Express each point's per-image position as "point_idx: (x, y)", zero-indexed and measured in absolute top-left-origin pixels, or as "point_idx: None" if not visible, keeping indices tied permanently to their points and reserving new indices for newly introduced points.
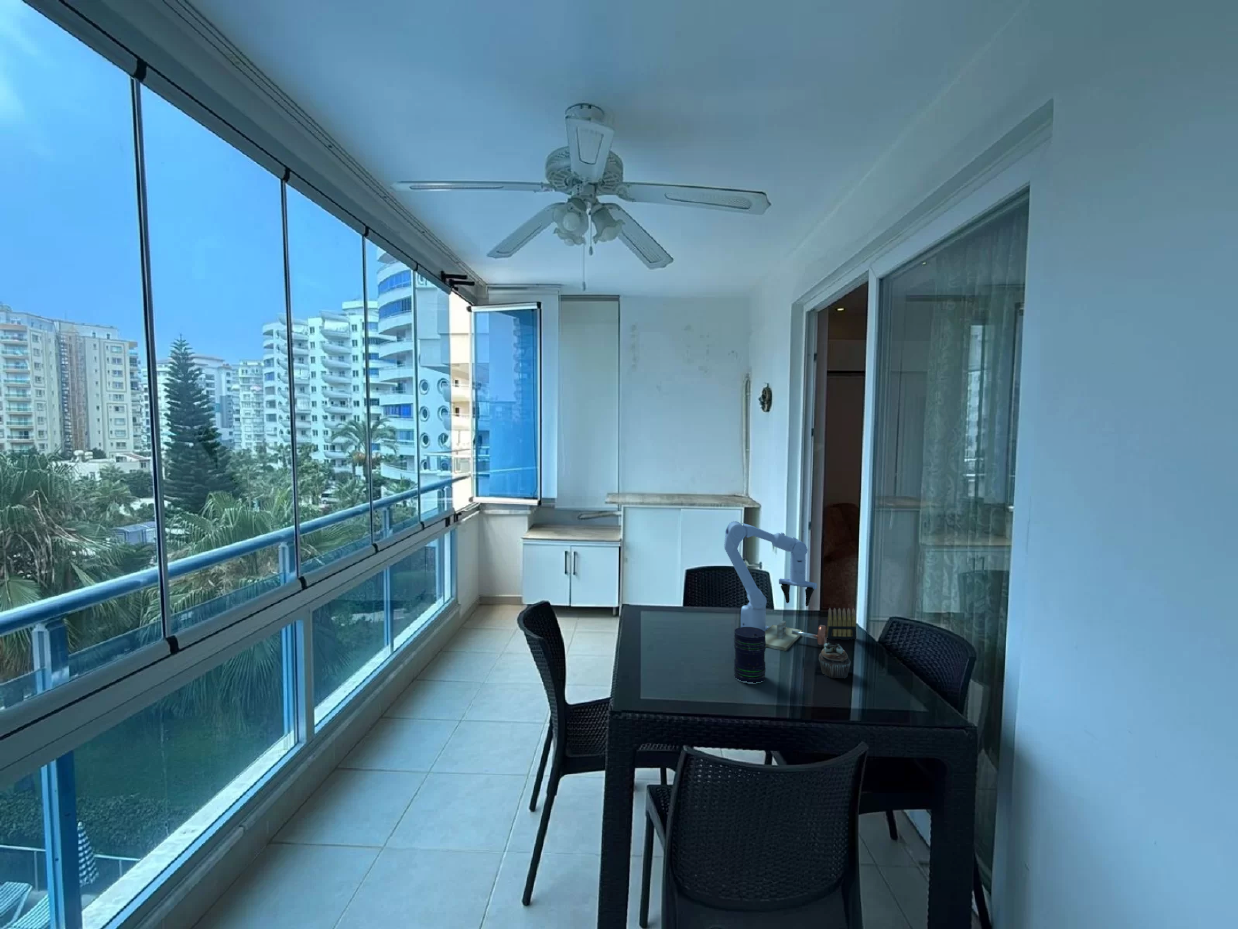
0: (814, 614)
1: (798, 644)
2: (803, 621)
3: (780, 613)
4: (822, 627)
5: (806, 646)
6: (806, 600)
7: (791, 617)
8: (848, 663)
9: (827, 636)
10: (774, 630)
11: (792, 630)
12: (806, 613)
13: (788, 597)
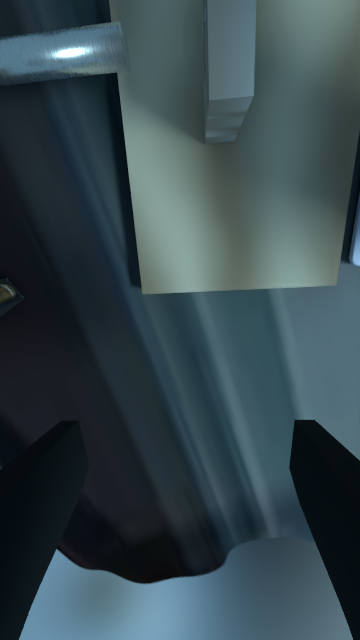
0: (194, 542)
1: None
2: (205, 454)
3: None
4: None
5: None
6: (10, 477)
7: (270, 477)
8: None
9: (15, 301)
10: (300, 174)
11: (115, 30)
12: (226, 541)
13: (325, 516)
